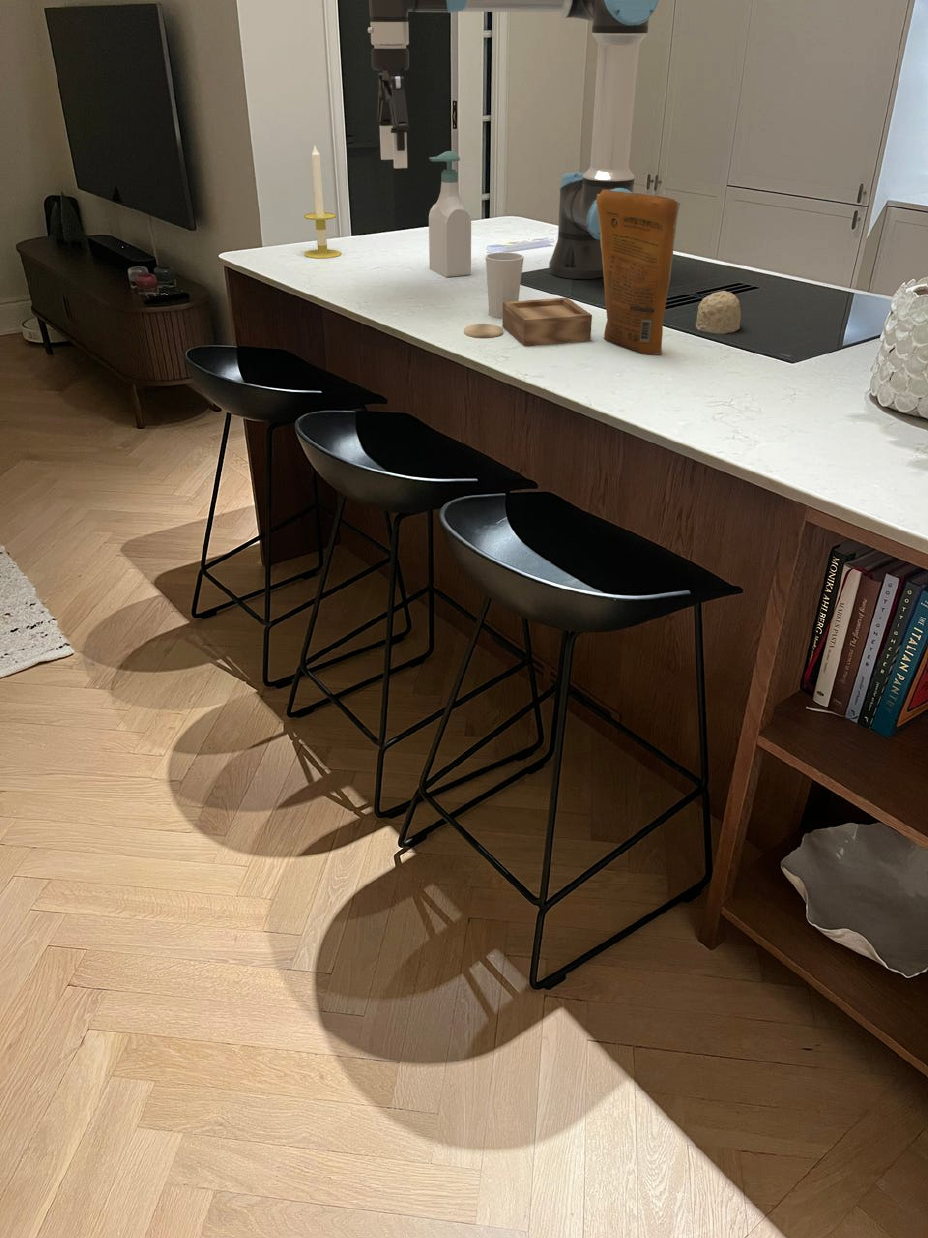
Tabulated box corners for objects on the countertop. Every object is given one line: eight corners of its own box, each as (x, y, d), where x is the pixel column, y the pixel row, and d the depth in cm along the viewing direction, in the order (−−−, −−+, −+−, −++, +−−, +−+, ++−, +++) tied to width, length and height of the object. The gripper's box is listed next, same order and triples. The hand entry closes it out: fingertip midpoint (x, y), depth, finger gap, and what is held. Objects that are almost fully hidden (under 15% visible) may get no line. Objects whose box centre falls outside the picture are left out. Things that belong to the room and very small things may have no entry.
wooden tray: (565, 321, 203) (567, 297, 200) (590, 340, 192) (592, 314, 189) (502, 326, 200) (503, 301, 197) (523, 345, 189) (524, 319, 186)
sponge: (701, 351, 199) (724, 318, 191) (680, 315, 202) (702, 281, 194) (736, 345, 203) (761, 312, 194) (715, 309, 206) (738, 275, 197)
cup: (518, 320, 204) (520, 261, 198) (481, 318, 205) (482, 259, 199) (524, 310, 211) (526, 252, 204) (488, 308, 212) (489, 251, 206)
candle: (349, 253, 259) (342, 142, 244) (325, 260, 252) (317, 146, 237) (320, 248, 263) (312, 139, 249) (296, 255, 256) (286, 143, 242)
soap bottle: (423, 268, 244) (420, 149, 229) (452, 265, 247) (452, 147, 232) (440, 278, 235) (439, 154, 220) (470, 275, 238) (471, 152, 223)
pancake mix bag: (649, 360, 181) (666, 200, 166) (583, 336, 194) (594, 185, 179) (675, 354, 184) (694, 197, 169) (608, 331, 197) (621, 182, 182)
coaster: (496, 325, 201) (496, 322, 200) (508, 336, 194) (508, 333, 194) (459, 328, 199) (459, 325, 198) (469, 339, 192) (469, 336, 192)
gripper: (360, 44, 202) (365, 156, 213) (383, 49, 181) (388, 172, 193) (395, 44, 203) (398, 155, 215) (422, 48, 183) (424, 170, 194)
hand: (393, 163), depth 204 cm, fingers open, 13 cm apart
